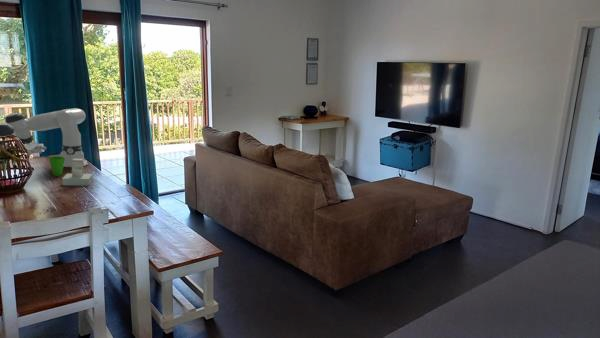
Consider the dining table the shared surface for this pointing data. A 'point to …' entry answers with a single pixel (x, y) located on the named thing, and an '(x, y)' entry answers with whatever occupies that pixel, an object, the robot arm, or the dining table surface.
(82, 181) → the base plinth
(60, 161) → the cup
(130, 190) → the dining table surface
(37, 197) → the dining table surface
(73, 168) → the cream block
